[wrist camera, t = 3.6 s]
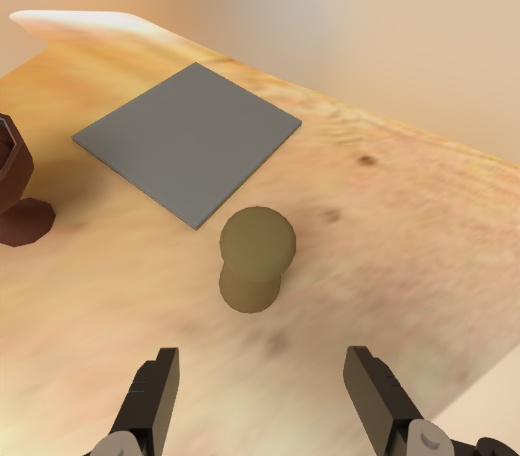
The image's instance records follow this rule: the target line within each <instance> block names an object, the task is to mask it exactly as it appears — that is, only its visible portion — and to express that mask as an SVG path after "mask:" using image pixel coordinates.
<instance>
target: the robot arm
mask: <svg viewBox="0 0 520 456" xmlns="http://www.w3.org/2000/svg"><path fill="white" fill-rule="evenodd" d="M179 377H180V371H179V349H178V348H161V349H160V351H159V353H158V356H157V358H156V361H146V362H145V363H144V364H143V365H142V366H141V367H140V368H139V370H138V371H137V373H136V375H135V377H134V380H133V383H132V384H131V386H130V389H129V391H128V393H127V395H126V397H125V400H124V402H123V404H122V406H121V408H120V411H119V413H118V415H117V417H116V420H115V422H114V424H113V426H112V428H111V431H110V432H109V434H108V436H106V437H105V438H103V439H102V440H101V441H100V442H99V443H98V444H97V445H96V446H95V447H94V449H93V450H92V451H91V452H89V453H87V454H86V455H83V456H161V455H162V451H163V447H164V443H165V439H166V435H167V431H168V427H169V423H170V419H171V415H172V411H173V407H174V403H175V399H176V395H177V391H178V386H179ZM343 377H344V383H345V386H346V388H347V390H348V392H349V395H350V397H351V399H352V401H353V404H354V406H355V408H356V410H357V412H358V415H359V417H360V419H361V421H362V423H363V426H364V428H365V430H366V432H367V435H368V437H369V439H370V441H371V443H372V446H373V448H374V450H375V452H376V454H377V456H519V455H518V454H517V453H516V452H515V451H514V450H512V449H511V448H510V447H508V446H507V445H505V444H504V443H502V442H500V441H498V440H495V439H492V438H487V437H484V438H480V439H479V440H478V442H477V445H476V446H473V445H469V444H466V443H462V442H459V441H455V440H452V439H449V437H448V436H447V435H446V434H445V432H443V431H442V430H441V429H440V428H439V427H438V426H436V425H435V424H433V423H431V422H429V421H426V420H425V419H424V418H423V417H422V415H421V414H420V412H419V411H418V409H417V408H416V406H415V405H414V404H413V402H412V401H411V399H410V398H409V396H408V395H407V393H406V392H405V390H404V389H403V388H402V387H401V385H400V383H399V382H398V380H397V379H396V378H395V376H394V374H393V373H392V372H391V370H390V369H389V367H388V366H387V365H386V364H385V363H384V362H382V361H381V360H380V359H379V358H373V356H372V355H371V353H370V352H369V350H368V349H367V347H366V346H349V347H348V349H347V354H346V360H345V365H344V371H343Z"/></svg>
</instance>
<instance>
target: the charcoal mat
mask: <svg viewBox="0 0 520 456" xmlns="http://www.w3.org/2000/svg"><path fill="white" fill-rule="evenodd" d="M301 124H302V121H301V120H299V119H297V118H295V117H293V116H292V115H290V114H288V113H286V112H285V111H283V110H281V109H279V108H277V107H276V106H274V105H272V104H270V103H268V102H267V101H265V100H263V99H261V98H259V97H258V96H256V95H254V94H252V93H250V92H249V91H247V90H245V89H243V88H241V87H240V86H238V85H236V84H234V83H233V82H231V81H229V80H227V79H225V78H224V77H222V76H220V75H218V74H216V73H215V72H213V71H211V70H209V69H207V68H206V67H204V66H202V65H200V64H198V63H197V62H195V63H193V64H191V65H190V66H188V67H186V68H185V69H183V70H181V71H180V72H178V73H176V74H175V75H173V76H171V77H170V78H168V79H166V80H165V81H163V82H161V83H160V84H158V85H156V86H155V87H153V88H151V89H150V90H148V91H146V92H145V93H143V94H141V95H140V96H138V97H136V98H135V99H133V100H131V101H130V102H128V103H126V104H125V105H123V106H121V107H120V108H118V109H116V110H115V111H113V112H111V113H110V114H108V115H106V116H105V117H103V118H101V119H100V120H98V121H96V122H95V123H93V124H91V125H90V126H88V127H86V128H85V129H83V130H81V131H80V132H78V133H76V134H75V135H73V136H71V138H72V139H73V141H75V142H76V143H78V144H79V145H80V146H82V147H83V148H84V149H86V150H87V151H88V152H90V153H91V154H93V155H94V156H95V157H97V158H98V159H99V160H101V161H102V162H103V163H105V164H106V165H107V166H109V167H110V168H112V169H113V170H114V171H116V172H117V173H118V174H120V175H121V176H122V177H124V178H125V179H127V180H128V181H129V182H131V183H132V184H133V185H135V186H136V187H137V188H139V189H140V190H142V191H143V192H144V193H146V194H147V195H148V196H150V197H151V198H152V199H154V200H155V201H157V202H158V203H159V204H161V205H162V206H163V207H165V208H166V209H167V210H169V211H170V212H171V213H173V214H174V215H176V216H177V217H178V218H180V219H181V220H182V221H184V222H185V223H186V224H188V225H189V226H191V227H192V228H193V229H195V230H197V229H198V228H199V227H200V226H201V225H202V224H203V223H204V222H205V221H206V220H207V219H208V218H209V217H210V216H211V215H212V214H213V213H214V212H215V211H216V210H217V209H218V208H219V207H220V206H221V205H222V204H223V203H224V202H225V201H226V200H227V199H228V198H229V197H230V196H231V195H232V194H233V193H234V192H235V191H236V190H237V189H238V188H239V187H240V186H241V185H242V184H243V183H244V182H245V181H246V180H247V179H248V178H249V177H250V176H251V175H252V174H253V173H254V172H255V171H256V170H257V169H258V168H259V167H260V166H261V165H262V164H263V163H264V162H265V161H266V160H267V159H268V158H269V157H270V156H271V155H272V154H273V153H274V152H275V151H276V150H277V149H278V148H279V147H280V146H281V145H282V144H283V143H284V142H285V140H286V139H287V138H288V137H289V136H290V135H291V134H292V133H293V132H294V131H295V130H296V129H297V128H298V127H299V126H300V125H301Z"/></svg>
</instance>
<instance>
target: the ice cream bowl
mask: <svg viewBox="0 0 520 456" xmlns="http://www.w3.org/2000/svg"><path fill="white" fill-rule="evenodd" d="M33 170H34V165H33V160H32V156H31V154H30V152H29V150H28V148H27V146H26V144H25V143H24V141H23V139H22V137H21V135H20V133H19V131H18V129H17V128H16V126H15V124H14V123H13V121H12V119H11V118H10V116H8V115H5V114H1V113H0V243H2V244H6V245H9V246H12V247H17V246H21V245H25V244H30V243H34V242H35V241H37V240H38V239H39V238H40V237H42V236H43V235H44V234H46V233H47V232H48V231H49V230H50V229H51V226H52V224H53V221H54V219H55V216H56V215H55V213H54V211H53V209H52V207H51V205H50V204H48V203H46V202H43V201H40V200H36V199H33V198H28V199H23V200H19V199H20V197H21V195H22V193H23V191H24V189H25V187H26V185H27V183H28V181H29V179H30V176H31V174H32V172H33Z"/></svg>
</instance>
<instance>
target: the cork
mask: <svg viewBox="0 0 520 456" xmlns="http://www.w3.org/2000/svg"><path fill="white" fill-rule="evenodd" d="M220 248H221V254H222V258H223V260H224V261H225V262H224V265H223V268H222V271H221V275H220V281H219V286H220V292H221V294H222V296H223V298H224V300H225V302H226V303H227V304H228V305H230V306H231V307H232V308H233V309H235V310H237V311H240V312H243V313H256V312H260V311H262V310H264V309H266V308H267V307H269V306H270V305H271V304H272V303H273V301H274V300H275V299H276V297H277V294H278V292H279V286H280V278H281V274H282V273H283V272H284V271H285V270H286V269H287V268H288V267H289V265H290V264H291V262H292V260H293V258H294V255H295V252H296V236H295V233H294V230H293V227H292V226H291V224H290V223H289V222H288V220H287V219H286V218H285V217H283V216H282V215H281V214H280V213H278V212H277V211H275V210H272V209H270V208H267V207H259V206H256V207H249V208H245V209H243V210H241V211H239V212H236V213H235V214H234V215H233V216H232V217H231V218H230V219H228V221H227V223H226V225H225V226H224V228H223V230H222V232H221V238H220Z"/></svg>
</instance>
